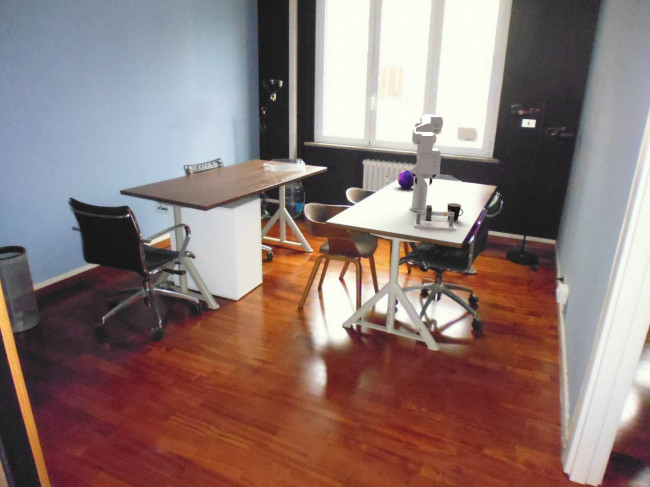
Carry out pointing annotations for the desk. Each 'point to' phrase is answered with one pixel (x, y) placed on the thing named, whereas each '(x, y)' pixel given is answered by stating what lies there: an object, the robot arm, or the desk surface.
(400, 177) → the decorative orb
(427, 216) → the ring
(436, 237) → the desk surface
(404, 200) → the desk surface
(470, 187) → the desk surface
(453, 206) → the coffee mug
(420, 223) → the rail fixture
